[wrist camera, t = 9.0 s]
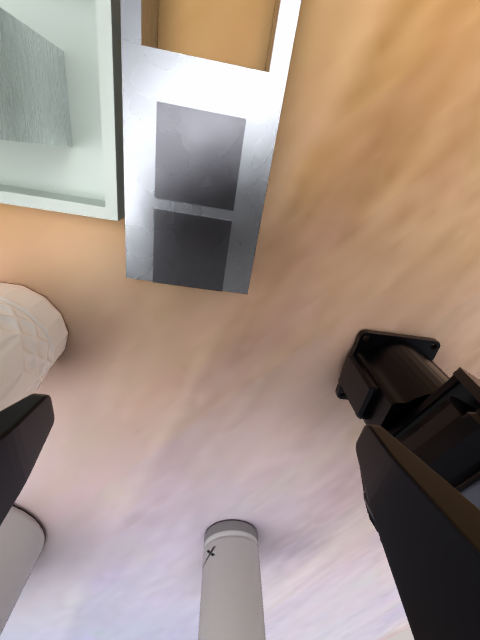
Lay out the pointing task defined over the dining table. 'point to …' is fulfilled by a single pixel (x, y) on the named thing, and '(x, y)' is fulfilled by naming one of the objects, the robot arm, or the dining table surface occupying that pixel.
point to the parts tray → (74, 115)
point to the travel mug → (231, 584)
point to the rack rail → (197, 153)
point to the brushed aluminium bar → (32, 87)
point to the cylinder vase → (17, 557)
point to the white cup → (27, 341)
